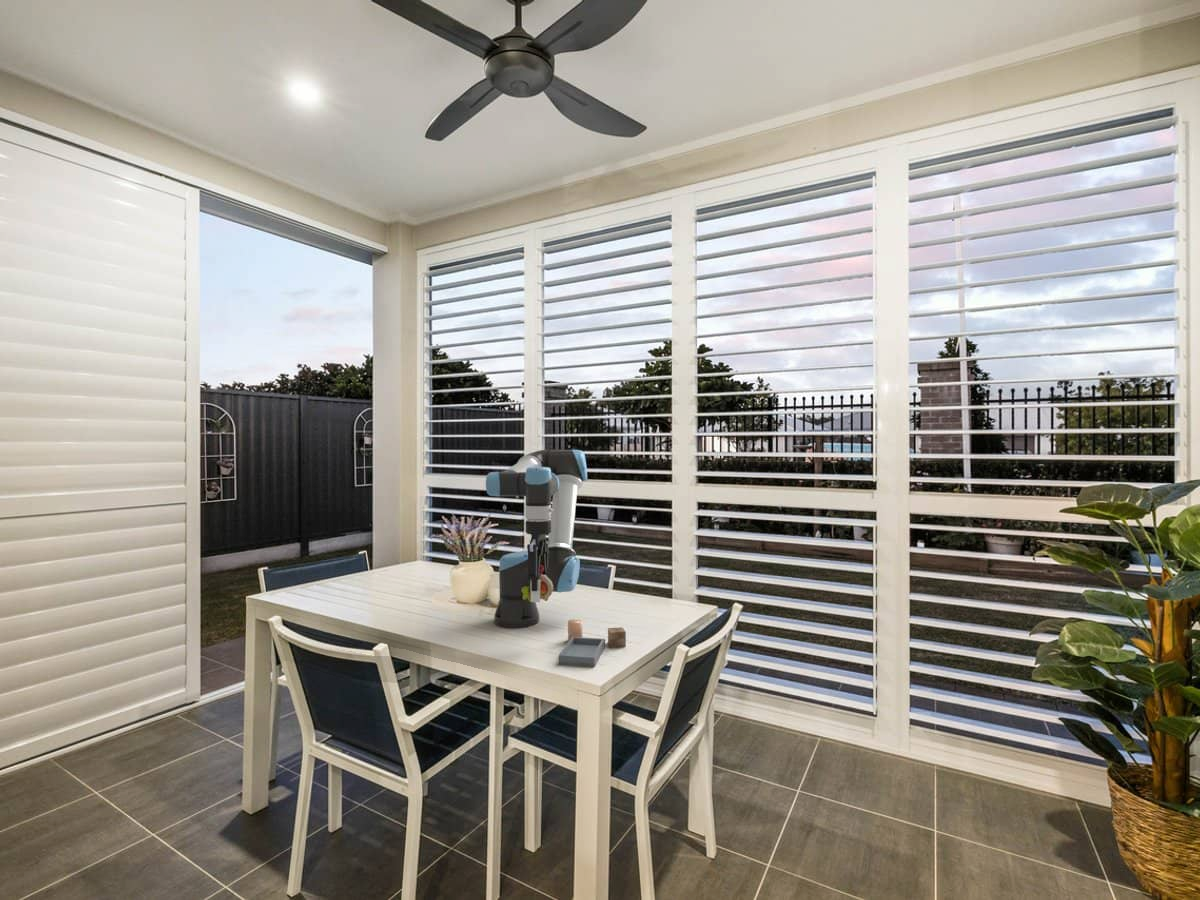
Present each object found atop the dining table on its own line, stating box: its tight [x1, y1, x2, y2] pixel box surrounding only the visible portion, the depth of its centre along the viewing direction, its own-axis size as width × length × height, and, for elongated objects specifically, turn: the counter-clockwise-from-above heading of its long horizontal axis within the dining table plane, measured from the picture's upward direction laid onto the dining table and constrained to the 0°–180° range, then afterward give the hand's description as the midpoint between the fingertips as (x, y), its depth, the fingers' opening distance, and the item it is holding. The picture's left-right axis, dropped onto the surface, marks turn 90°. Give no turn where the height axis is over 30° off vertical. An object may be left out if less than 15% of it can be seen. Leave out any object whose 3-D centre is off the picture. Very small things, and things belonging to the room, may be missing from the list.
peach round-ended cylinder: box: [567, 618, 583, 643], centre depth 181 cm, size 4×4×6 cm
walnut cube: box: [607, 626, 627, 648], centre depth 177 cm, size 4×4×4 cm
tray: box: [558, 636, 606, 668], centre depth 168 cm, size 10×16×2 cm, turn 169°
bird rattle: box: [522, 565, 554, 602], centre depth 174 cm, size 6×11×9 cm
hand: (538, 599), depth 174 cm, fingers closed on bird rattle, 5 cm apart
